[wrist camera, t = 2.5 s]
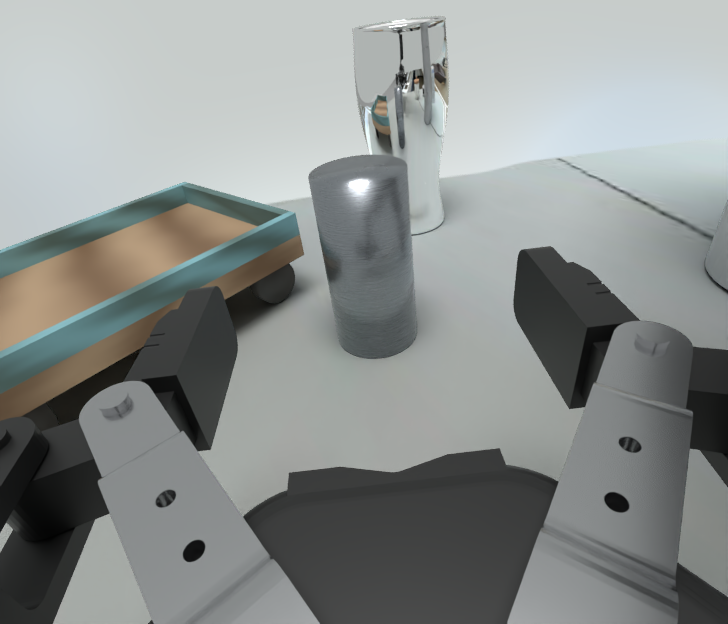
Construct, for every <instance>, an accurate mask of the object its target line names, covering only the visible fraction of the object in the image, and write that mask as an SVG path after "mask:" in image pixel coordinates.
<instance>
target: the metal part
mask: <svg viewBox="0 0 728 624" xmlns="http://www.w3.org/2000/svg"><path fill="white" fill-rule="evenodd" d="M309 183H310V189H311V194H312V199H313V205H314V210H315V215H316V221H317V226H318V231H319V237H320V242H321V247H322V252H323V258H324V263H325V268H326V274H327V279H328V284H329V290H330V295H331V300H332V306H333V311H334V316H335V322H336V327H337V332H338V338H339V342H340V344H341V346H342V347H343V348H344V349H345V350H346V351H347V352H349V353H350V354H353V355H355V356H358V357H362V358H370V359H376V358H384V357H389V356H392V355H395V354H398V353H400V352H402V351H403V350H405V349H406V348H408V347H409V346H410V345H411V344H412V343H413V341H414V340H415V338H416V334H417V324H416V307H415V289H414V272H413V254H412V237H411V220H410V202H409V185H408V167H407V163H406V162H405V161H404V160H403V159H401V158H398V157H394V156H389V155H361V156H352V157H347V158H342V159H338V160H334V161H331V162H328V163H325V164H323V165H321V166H319V167H317V168H315V169H314V170H313V171H312V172H311V173H310V174H309Z"/></svg>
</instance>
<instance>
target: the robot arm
mask: <svg viewBox="0 0 728 624" xmlns="http://www.w3.org/2000/svg"><path fill="white" fill-rule="evenodd" d="M705 268H706V269H707V271H708V273H709V275H710V276H711V277H712V278H713V279H714V280H715V281H716V282H717V283H718V284H719V285H721V286H722V287H724V288H725V289H727V290H728V201H727V203H726V205H725V208H724V211H723V213H722V216H721V219H720V222H719V224H718V227H717V230H716V232H715V235H714V238H713V240H712V243H711V246H710V248H709V251H708V254H707V257H706V259H705ZM514 312H515V316H516V319H517V322H518V324H519V325H520V327H521V329H522V330H523V332H524V334H525V335H526V337H527V339H528V340H529V342H530V344H531V345H532V347H533V349H534V350H535V352H536V354H537V356H538V357H539V359H540V361H541V362H542V364H543V366H544V367H545V369H546V371H547V372H548V374H549V376H550V377H551V379H552V381H553V382H554V384H555V386H556V387H557V389H558V391H559V392H560V394H561V396H562V398H563V399H564V401H565V403H566V404H567V406H568V408H569V409H573V408H582V407H585V409H584V412H583V414H582V417H581V420H580V423H579V426H578V429H577V432H576V434H575V437H574V440H573V443H572V446H571V449H570V451H569V454H568V457H567V460H566V463H565V466H564V468H563V471H562V474H561V477H560V480H559V482H558V481H556V480H554V479H552V478H550V477H548V476H545V475H543V474H541V473H538V472H535V471H532V470H529V469H525V468H521V467H516V466H511V465H506V464H505V462H504V459H503V456H502V454H501V451H500V448H499V449H490V450H481V451H473V452H464V453H456V454H447V455H445V456H442V457H439V458H436V459H434V460H431V461H428V462H425V463H422V464H420V465H417V466H414V467H411V468H408V469H406V470H403V471H400V472H394V473H393V472H382V471H373V470H364V469H355V468H346V467H335V468H327V469H318V470H310V471H301V472H292V473H289V480H288V490H286V491H284V492H281V493H279V494H277V495H275V496H273V497H271V498H269V499H267V500H265V501H264V502H262V503H260V504H259V505H257V506H256V507H254V508H253V509H252V510H250V511H249V512H248V513H247V514H245V515H244V516H242V515H241V514H240V512H239V511H238V509H237V508H236V506H235V505H234V503H233V502H232V501H231V499H230V498H229V496H228V495H227V493H226V492H225V490H224V489H223V487H222V486H221V485H220V483H219V482H218V480H217V479H216V477H215V476H214V474H213V473H212V471H211V470H210V469H209V467H208V466H207V464H206V463H205V461H204V460H203V458H202V457H201V455H200V454H199V453H198V451H203V450H211V447H212V443H213V439H214V436H215V432H216V429H217V425H218V421H219V418H220V414H221V411H222V407H223V403H224V400H225V396H226V393H227V389H228V385H229V382H230V378H231V375H232V371H233V367H234V364H235V360H236V357H237V351H238V344H237V336H236V332H235V329H234V326H233V323H232V320H231V317H230V314H229V311H228V308H227V305H226V302H225V299H224V296H223V293H222V291H221V289H220V288H219V287H218V286H212V287H204V288H195V289H189V290H188V291H187V292H186V294H185V296H184V298H183V300H182V302H181V304H180V306H179V308H178V309H173V310H170V311H169V312H168V313H167V314H166V315H165V316H163V317H162V318H161V319H160V320H159V321H158V322H157V323H156V325H155V327H154V328H153V330H152V332H151V334H150V338H148V339H147V341H146V342H145V344H144V348H143V349H142V350H141V351H140V353H139V355H138V357H137V358H136V360H135V362H134V364H133V365H132V367H131V369H130V371H129V373H128V374H127V376H126V378H125V380H124V381H123V382H122V383H118V384H115V385H113V386H110V387H108V388H106V389H104V390H102V391H101V392H99V393H98V394H96V395H95V396H94V397H92V398H91V399H90V400H89V401H88V402H87V403H86V404H85V406H84V407H83V409H82V410H81V412H80V415H79V419H77V420H74V421H71V422H68V423H65V424H62V425H59V426H56V427H53V428H50V429H47V430H44V431H40V430H39V429H38V427H37V426H36V425H35V423H34V422H33V421H32V420H31V419H29V418H26V417H13V418H8V419H5V420H1V421H0V532H1V530H2V529H3V527H4V525H5V523H6V522H7V523H8V524H9V525H10V526H11V527H12V528H13V531H12V533H11V535H10V537H9V538H8V540H7V542H6V544H5V545H4V547H3V549H2V551H1V553H0V624H53V622H54V619H55V617H56V614H57V612H58V609H59V607H60V604H61V602H62V599H63V597H64V594H65V592H66V590H67V587H68V585H69V582H70V580H71V577H72V575H73V572H74V570H75V567H76V565H77V563H78V560H79V558H80V555H81V553H82V550H83V548H84V545H85V543H86V540H87V538H88V535H89V533H90V531H91V528H92V526H93V523H94V521H95V519H97V518H99V517H102V516H104V515H107V514H109V513H110V515H111V518H112V520H113V523H114V525H115V528H116V530H117V533H118V535H119V538H120V540H121V543H122V545H123V548H124V550H125V553H126V555H127V558H128V560H129V563H130V565H131V568H132V570H133V573H134V575H135V578H136V580H137V583H138V585H139V588H140V591H141V593H142V596H143V598H144V601H145V603H146V606H147V608H148V611H149V613H150V616H151V618H152V620H151V621H150V622H149V623H148V624H728V597H727V596H725V595H724V594H722V593H721V592H719V591H718V590H716V589H715V588H714V587H712V586H711V585H709V584H708V583H706V582H705V581H703V580H702V579H701V578H699V577H698V576H696V575H695V574H693V573H692V572H690V571H689V570H688V569H686V568H685V567H683V566H682V565H680V564H679V563H677V559H678V550H679V541H680V532H681V523H682V514H683V505H684V495H685V486H686V477H687V468H688V459H689V450H690V449H697V450H700V451H701V452H702V454H703V455H704V456H705V458H706V459H707V460H708V462H709V463H710V464H711V466H712V467H713V468H714V469H715V471H716V472H717V473H718V475H719V476H720V477H721V479H722V480H723V481H724V483H725V484H726V485H727V487H728V350H722V349H710V348H699V347H693V346H692V343H691V342H690V340H689V339H688V338H687V337H686V336H685V335H683V334H682V333H681V332H679V331H677V330H675V329H673V328H671V327H669V326H666V325H663V324H659V323H655V322H649V321H640V320H639V319H638V318H637V317H636V316H635V315H634V314H633V313H632V312H631V311H630V310H629V309H628V308H627V307H626V306H625V305H624V304H623V303H622V302H621V301H620V300H619V299H618V298H617V297H616V296H615V295H614V294H613V293H611V292H610V290H609V289H608V288H607V287H606V286H605V285H604V284H602V283H601V281H600V280H599V279H598V278H597V277H596V276H595V275H594V274H593V273H592V272H591V271H590V270H588V269H586V268H584V267H582V266H580V265H578V264H576V263H574V262H570V263H567V262H566V261H565V260H564V259H563V258H562V257H561V256H560V255H559V254H558V253H557V251H556V250H555V249H554V248H553V247H551V246H548V247H540V248H532V249H524V250H521V251H520V253H519V255H518V261H517V271H516V281H515V291H514Z"/></svg>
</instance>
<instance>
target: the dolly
mask: <svg viewBox="0 0 728 624" xmlns="http://www.w3.org/2000/svg"><path fill="white" fill-rule="evenodd" d="M302 255H304V252H303V247H302V242H301V238H300V233H299V228H298V224H297V219H296V214H295V213H293V212H290V211H286V210H283V209H279V208H276V207H272V206H268V205H265V204H261V203H258V202H254V201H251V200H247V199H244V198H240V197H236V196H233V195H229V194H226V193H222V192H218V191H215V190H211V189H208V188H204V187H201V186H197V185H194V184H190V183H187V182H183V183H180V184H177V185H175V186H172V187H169V188H167V189H164V190H161V191H159V192H156V193H153V194H151V195H148V196H145V197H142V198H139V199H137V200H134V201H131V202H129V203H126V204H123V205H121V206H118V207H115V208H113V209H110V210H107V211H104V212H102V213H99V214H96V215H94V216H91V217H88V218H86V219H83V220H80V221H77V222H75V223H72V224H69V225H67V226H64V227H61V228H59V229H56V230H53V231H50V232H48V233H45V234H42V235H39V236H37V237H34V238H31V239H29V240H26V241H24V242H21V243H18V244H15V245H12V246H10V247H7V248H5V249H2V250H0V421H1V420H5V419H8V418H13V417H26V418H29V419H31V420H32V421H33V422H34V423H35V425H36V426H37V427H38V429H39V430H40V431H44V430H47V429H50V428H53V427H56V426H58V420H57V418H56V416H55V415H54V413H53V412H52V411H51V409H50V408H49V406H48V405H47V404H46V403H45V402H47V401H49V400H51V399H52V398H54V397H56V396H58V395H59V394H61V393H63V392H65V391H66V390H68V389H70V388H72V387H73V386H75V385H77V384H79V383H80V382H82V381H84V380H86V379H87V378H89V377H91V376H93V375H94V374H96V373H98V372H100V371H101V370H103V369H105V368H107V367H108V366H110V365H112V364H114V363H115V362H117V361H119V360H121V359H122V358H124V357H126V356H128V355H129V354H131V353H133V352H135V351H136V350H138V349H140V348H142V347H143V346H144V344H145V342H146V341H147V339H148V338H150V334H151V332H152V330H153V328H154V327H155V325H156V323H157V322H158V321H159V320H160V319H161V318H162V317H163V316H165V315H166V314H167V313H168V312H169V311H170V310H173V309H178V308H179V306H180V304H181V302H182V300H183V298H184V296H185V294H186V292H187V291H188V290H189V289H195V288H204V287H212V286H218V287H219V288H220V289H221V291H222V293H223V296H224V299H227V298H229V297H231V296H232V295H234V294H236V293H238V292H239V291H241V290H243V289H245V288H246V287H248V286H250V289H251V291H252V293H253V294H254V295H255V296H257V297H259V298H261V299H263V300H265V301H267V302H269V303H279V302H281V301H283V300H284V299H285V298H286V297H287V296H288V295H289V294H290V292H291V291H292V289H293V286H294V282H295V274H294V270H293V268H292V266H291V265H290V264H289V263H290V262H292V261H294V260H295V259H297V258H299V257H301V256H302Z"/></svg>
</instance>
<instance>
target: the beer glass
mask: <svg viewBox="0 0 728 624" xmlns="http://www.w3.org/2000/svg"><path fill="white" fill-rule="evenodd" d="M445 19H446V18H445V17H444V16H433V17H421V18H411V19H403V20H395V21H389V22H381V23H375V24H369V25H364V26H359V27H356V28H354V29H352V31H353V42H354V66H355V67H354V69H355V83H356V94H357V101H358V108H359V114H360V119H361V123H362V127H363V132H364V135H365V139H366V142H367V146H368V150H369V154H370V155H389V156H394V157H398V158H401V159H403V160H404V161H405V162H406V163H407V167H408V185H409V202H410V220H411V235H415V234H421V233H425V232H428V231H431V230H433V229H435V228H437V227H438V226H439V225H440V224H441V223H442V222H443V220H444V211H443V205H442V201H441V196H440V189H439V166H440V159H441V152H442V146H443V140H444V133H445V127H446V119H447V110H448V97H449V73H448V53H447V40H446V27H445Z"/></svg>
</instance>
